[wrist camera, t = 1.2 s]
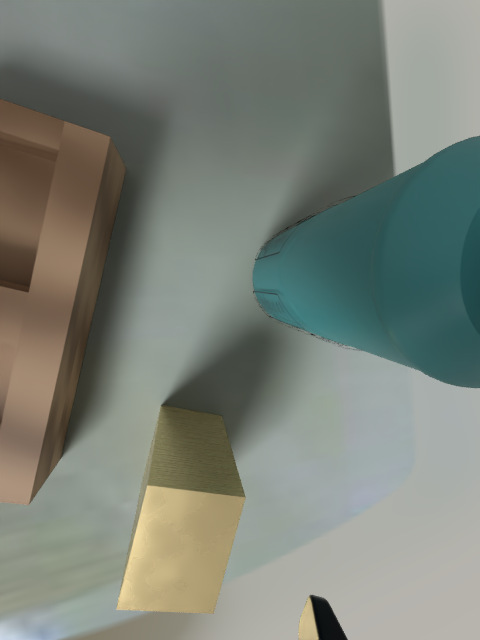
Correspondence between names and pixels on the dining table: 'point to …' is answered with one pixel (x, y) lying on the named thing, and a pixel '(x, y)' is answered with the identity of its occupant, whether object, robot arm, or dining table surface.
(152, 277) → the dining table surface
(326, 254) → the beverage bottle
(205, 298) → the dining table surface
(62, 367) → the recessed tan tray
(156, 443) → the tan block
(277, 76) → the dining table surface
